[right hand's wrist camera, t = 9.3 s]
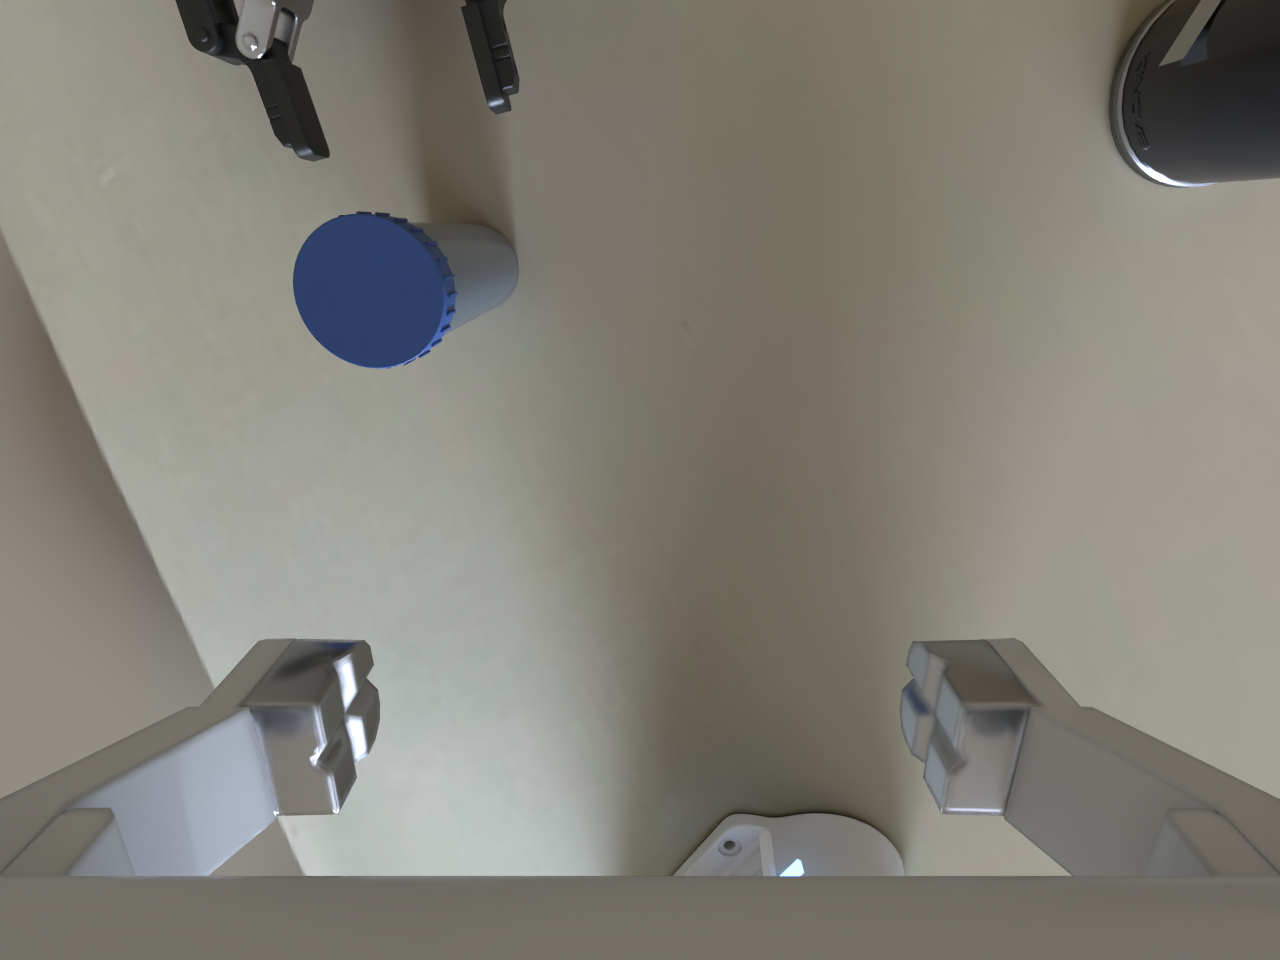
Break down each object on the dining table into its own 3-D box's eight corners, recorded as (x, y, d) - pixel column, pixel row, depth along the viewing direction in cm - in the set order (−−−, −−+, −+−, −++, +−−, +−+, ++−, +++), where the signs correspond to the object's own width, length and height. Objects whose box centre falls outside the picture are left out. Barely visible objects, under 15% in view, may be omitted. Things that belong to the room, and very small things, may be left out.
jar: (530, 245, 38) (460, 255, 23) (502, 322, 39) (418, 381, 24) (451, 210, 37) (324, 196, 22) (425, 289, 39) (289, 328, 24)
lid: (478, 250, 24) (467, 251, 22) (432, 384, 25) (419, 394, 24) (334, 186, 23) (313, 183, 22) (296, 328, 25) (273, 334, 23)
